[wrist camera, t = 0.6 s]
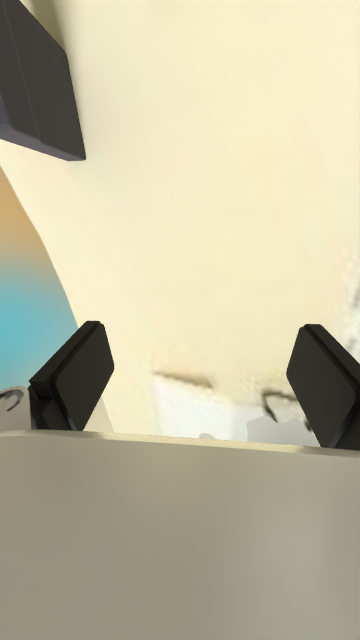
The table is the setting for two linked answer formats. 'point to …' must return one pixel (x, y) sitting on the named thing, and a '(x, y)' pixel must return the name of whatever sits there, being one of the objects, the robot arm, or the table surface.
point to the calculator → (36, 87)
